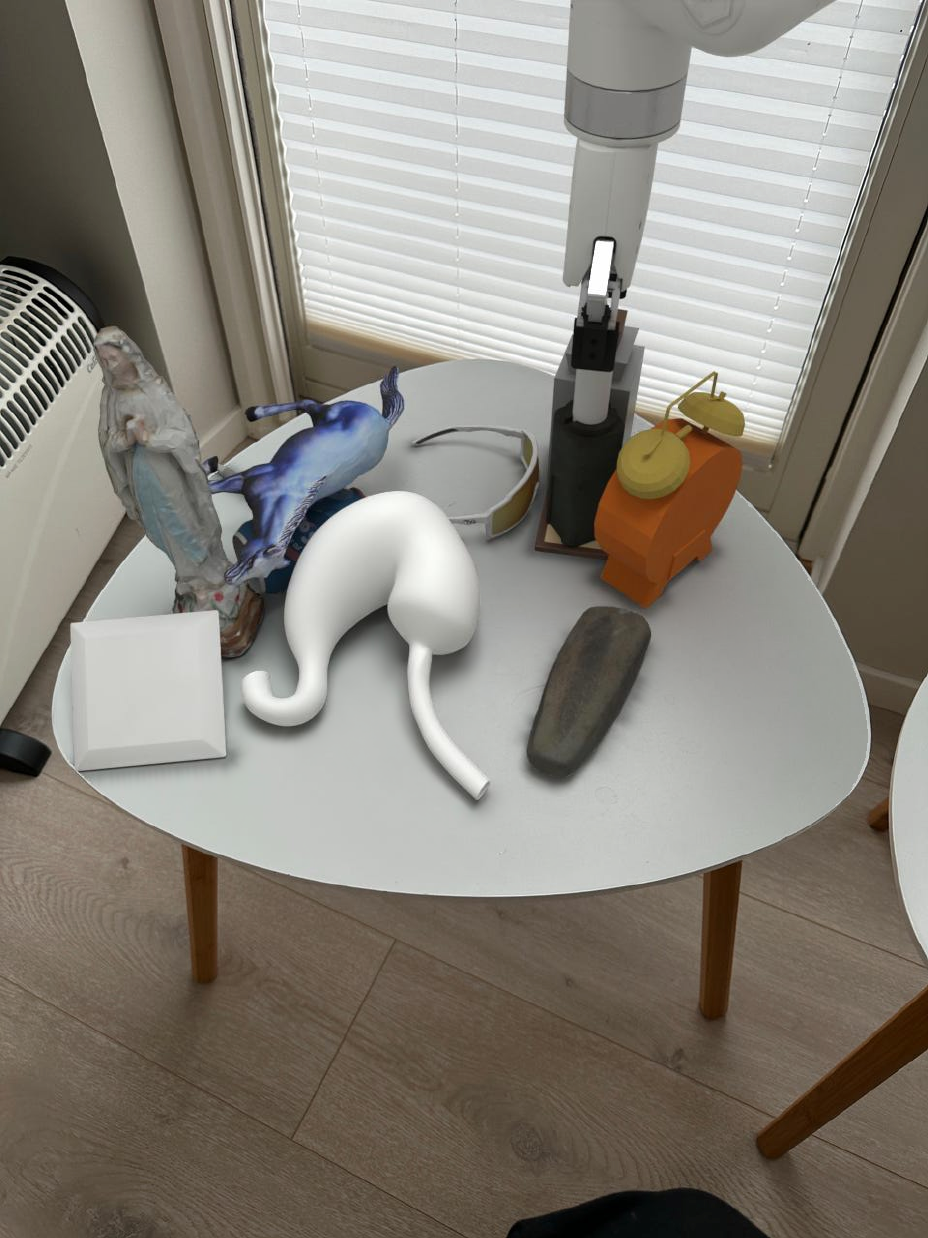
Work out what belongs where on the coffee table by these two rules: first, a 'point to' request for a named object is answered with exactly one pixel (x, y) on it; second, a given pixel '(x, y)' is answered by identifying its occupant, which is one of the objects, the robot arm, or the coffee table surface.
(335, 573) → the stomach
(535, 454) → the sunglasses
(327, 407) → the toy
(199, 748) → the white chamfered tile
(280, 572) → the soda can
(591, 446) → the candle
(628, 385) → the perfume bottle
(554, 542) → the brown picture frame
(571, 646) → the decorative stone
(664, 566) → the alarm clock
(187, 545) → the statue
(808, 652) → the coffee table surface
